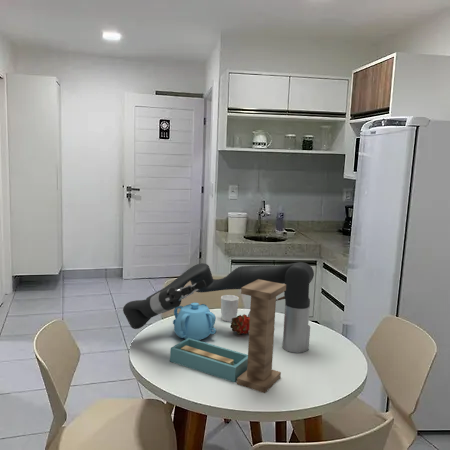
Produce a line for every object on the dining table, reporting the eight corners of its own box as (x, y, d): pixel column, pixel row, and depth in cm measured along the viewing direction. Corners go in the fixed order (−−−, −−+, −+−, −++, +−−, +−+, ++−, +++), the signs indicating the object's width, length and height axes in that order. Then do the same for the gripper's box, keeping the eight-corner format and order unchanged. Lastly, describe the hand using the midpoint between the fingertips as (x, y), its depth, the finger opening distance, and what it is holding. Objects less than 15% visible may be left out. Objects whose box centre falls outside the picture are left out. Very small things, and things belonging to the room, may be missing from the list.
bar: (180, 356, 160) (180, 348, 160) (185, 353, 163) (185, 345, 162) (229, 371, 150) (229, 363, 150) (233, 368, 153) (233, 359, 152)
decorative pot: (217, 343, 175) (219, 309, 173) (176, 345, 172) (177, 311, 170) (209, 327, 191) (211, 296, 189) (171, 329, 187) (172, 297, 185)
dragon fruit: (233, 341, 181) (244, 335, 192) (250, 332, 178) (260, 327, 189) (223, 322, 183) (234, 317, 194) (240, 313, 180) (250, 309, 191)
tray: (170, 361, 158) (170, 348, 157) (188, 350, 167) (188, 337, 166) (234, 382, 145) (235, 367, 144) (250, 369, 154) (251, 355, 154)
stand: (236, 384, 144) (241, 287, 139) (253, 369, 154) (258, 279, 149) (264, 393, 139) (270, 293, 134) (280, 377, 149) (286, 284, 145)
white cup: (218, 321, 198) (219, 299, 197) (221, 315, 206) (222, 294, 204) (236, 323, 197) (237, 301, 195) (238, 316, 205) (239, 295, 203)
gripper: (181, 305, 169) (213, 290, 160) (157, 316, 156) (191, 301, 148) (173, 286, 169) (205, 271, 161) (148, 296, 157) (182, 280, 149)
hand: (198, 285), depth 155 cm, fingers open, 8 cm apart
